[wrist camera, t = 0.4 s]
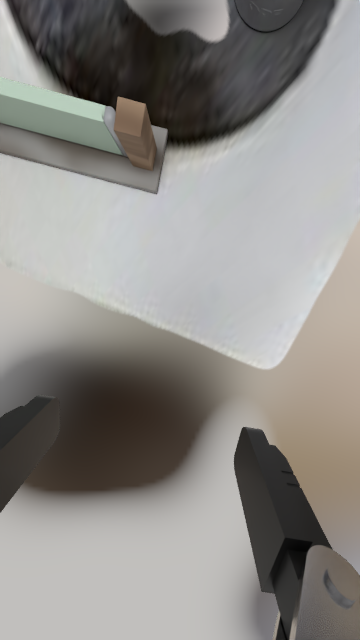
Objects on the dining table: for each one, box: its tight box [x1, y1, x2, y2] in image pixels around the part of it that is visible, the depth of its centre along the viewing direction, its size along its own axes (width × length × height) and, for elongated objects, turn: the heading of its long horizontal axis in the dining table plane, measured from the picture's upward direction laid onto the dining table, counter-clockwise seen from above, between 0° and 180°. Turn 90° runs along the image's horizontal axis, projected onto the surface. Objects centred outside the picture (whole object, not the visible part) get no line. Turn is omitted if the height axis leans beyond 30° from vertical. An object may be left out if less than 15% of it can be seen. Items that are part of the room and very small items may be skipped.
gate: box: [0, 77, 128, 157], centre depth 25 cm, size 19×2×7 cm, turn 76°
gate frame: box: [0, 97, 168, 194], centre depth 26 cm, size 8×29×9 cm, turn 76°
